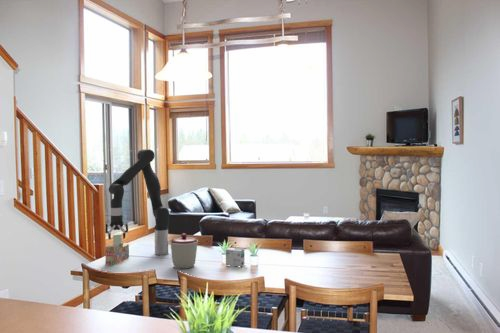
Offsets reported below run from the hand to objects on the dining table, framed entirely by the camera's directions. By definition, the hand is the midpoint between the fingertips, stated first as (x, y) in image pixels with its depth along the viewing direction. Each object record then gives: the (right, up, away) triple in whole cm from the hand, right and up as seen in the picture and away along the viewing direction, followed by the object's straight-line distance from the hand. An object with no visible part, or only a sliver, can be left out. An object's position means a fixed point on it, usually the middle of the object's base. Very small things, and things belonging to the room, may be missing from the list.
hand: (116, 239), depth 280 cm
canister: (+46, -16, -10) cm, 49 cm away
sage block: (0, -3, +1) cm, 3 cm away
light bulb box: (+78, -16, -7) cm, 80 cm away
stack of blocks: (0, -15, +3) cm, 16 cm away
